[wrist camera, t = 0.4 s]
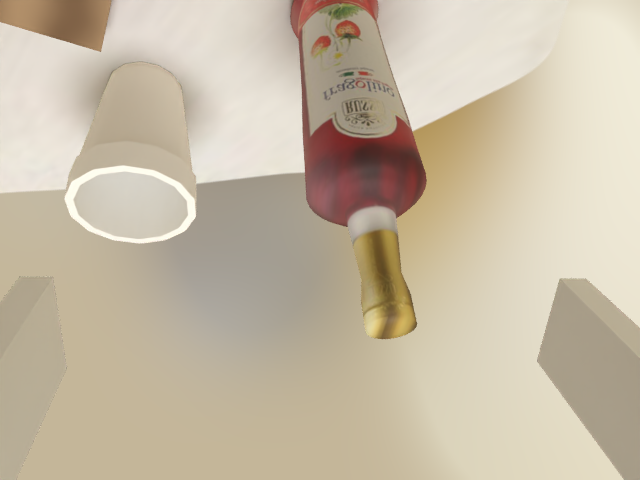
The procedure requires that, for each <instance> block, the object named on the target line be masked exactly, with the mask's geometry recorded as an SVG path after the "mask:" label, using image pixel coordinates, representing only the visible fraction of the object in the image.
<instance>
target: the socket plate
mask: <svg viewBox="0 0 640 480" xmlns="http://www.w3.org/2000/svg"><path fill="white" fill-rule="evenodd" d="M110 5H111V0H0V22H2V23H6V24H9V25H12V26H16V27H19V28H23V29H26V30H29V31H33V32H36V33H39V34H43V35H46V36H49V37H53V38H56V39H60V40H63V41H66V42H70V43H73V44H76V45H80V46H83V47H86V48H90V49H93V50H97V51H100V52H101V49H102V44H103V39H104V34H105V29H106V25H107V20H108V15H109V10H110Z"/></svg>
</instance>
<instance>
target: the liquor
mask: <svg viewBox="0 0 640 480" xmlns="http://www.w3.org/2000/svg"><path fill="white" fill-rule="evenodd" d="M290 18H291V25H292V28H293V31H294V33H295V35H296V36H297V38H298V39H299V51H300V67H301V84H302V121H303V145H304V161H305V181H306V198H307V202H308V204H309V207H310V208H311V209H312V210H313V212H314V213H316V214H317V215H318V216H320V217H321V218H323V219H325V220H327V221H329V222H332V223H335V224H339V225H342V226H346V227H348V229H349V233H350V237H351V241H352V244H353V248H354V252H355V256H356V260H357V264H358V268H359V271H360V276H361V280H362V282H361V291H362V292H361V304H362V311H363V317H364V324H365V330H366V333H367V335H368V336H371V337H373V338H378V339H391V338H397V337H400V336H403V335H406V334H408V333H410V332H411V331H413V330H414V329H415V328H416V326H417V322H416V317H415V313H414V308H413V303H412V298H411V294H410V291H409V289H408V287H407V285H406V282H405V280H404V278H403V275H402V273H401V263H400V253H399V242H398V231H397V220H396V218H397V217H399V216H400V215H402V214H403V213H404V212H406V211H407V210H408V209H410V208H411V207H412V206H413V205H414V204H415V203H416V202H417V201H418V200H419V198H420V197H421V196H422V194H423V192H424V190H425V187H426V173H425V170H424V167H423V164H422V161H421V158H420V155H419V152H418V149H417V146H416V142H415V139H414V136H413V133H412V129H411V126H410V123H409V120H408V116H407V113H406V111H405V108H404V105H403V102H402V100H401V97H400V94H399V91H398V88H397V86H396V83H395V80H394V77H393V74H392V71H391V68H390V65H389V62H388V58H387V55H386V52H385V49H384V46H383V42H382V39H381V36H380V32H379V29H378V25H377V18H378V2H377V0H294V2H293V5H292V8H291V15H290Z"/></svg>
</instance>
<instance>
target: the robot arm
mask: <svg viewBox="0 0 640 480" xmlns="http://www.w3.org/2000/svg"><path fill="white" fill-rule="evenodd" d="M537 362H538V363H539V364H540V366H541V367H542V369H543V370H544V371H545V373H546V374H547V375H548V377H549V378H550V380H551V381H552V382H553V384H554V385H555V386H556V388H557V389H558V390H559V392H560V393H561V394H562V396H563V397H564V398H565V400H566V401H567V403H568V404H569V405H570V407H571V408H572V409H573V411H574V412H575V413H576V415H577V416H578V418H579V419H580V420H581V422H582V423H583V424H584V426H585V427H586V428H587V430H588V431H589V433H590V434H591V435H592V437H593V438H594V439H595V440H596V442H597V443H598V445H599V446H600V447H601V449H602V450H603V452H604V453H605V454H606V456H607V457H608V458H609V459H610V461H611V462H612V464H613V465H614V466H615V468H616V469H617V471H618V472H619V473H620V475H621V476H622V477H623V479H624V480H640V328H639V327H638V326H637V325H636V324H635V323H634V322H633V321H632V320H631V319H629V318H628V317H627V316H626V315H625V314H624V313H623V312H622V311H621V310H620V309H619V308H617V307H616V306H615V305H614V304H613V303H612V302H611V301H610V300H609V299H608V298H606V297H605V296H604V295H603V294H602V293H601V292H600V291H599V290H598V289H597V288H596V287H594V286H593V285H592V284H591V283H590V282H589V281H588V280H587V279H560V280H559V283H558V287H557V291H556V294H555V298H554V301H553V305H552V309H551V312H550V316H549V319H548V323H547V326H546V330H545V334H544V337H543V341H542V344H541V348H540V352H539V355H538V359H537ZM66 369H67V367H66V360H65V353H64V347H63V340H62V333H61V327H60V320H59V314H58V308H57V300H56V293H55V286H54V280H53V277H19V278H18V280H17V281H16V282H15V284H14V285H13V286H12V287H11V289H10V290H9V291H8V293H7V294H6V296H5V297H4V298H3V300H2V301H1V302H0V480H16V479H17V477H18V474H19V472H20V470H21V468H22V466H23V463H24V461H25V459H26V457H27V455H28V453H29V450H30V448H31V446H32V444H33V442H34V439H35V437H36V435H37V433H38V431H39V429H40V426H41V424H42V422H43V420H44V417H45V415H46V413H47V411H48V409H49V407H50V404H51V402H52V400H53V398H54V396H55V393H56V391H57V389H58V387H59V384H60V382H61V380H62V378H63V376H64V374H65V371H66Z"/></svg>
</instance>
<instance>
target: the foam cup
mask: <svg viewBox="0 0 640 480" xmlns="http://www.w3.org/2000/svg"><path fill="white" fill-rule="evenodd" d="M196 198H197V191H196V176H195V175H194V173H193V172H192V165H191V157H190V149H189V142H188V134H187V126H186V118H185V111H184V103H183V95H182V91H181V85H180V84H179V83H178V81H177V80H176V78H175V77H174V75H173V74H171V73H170V72H168V71H167V70H165V69H163V68H162V67H160V66H159V65H154V64H150V63H145V62H135V63H128V64H124V65H122V66H121V67H119V68H118V69H116V70H115V71H113V72H112V74H111V77H110V79H109V81H108V84H107V86H106V88H105V91H104V93H103V96H102V98H101V101H100V104H99V106H98V109H97V111H96V114H95V116H94V119H93V122H92V124H91V127H90V129H89V132H88V134H87V137H86V140H85V142H84V145H83V147H82V150H81V152H80V155H79V156H77V157H76V159H75V162H74V164H73V166H72V169H71V171H70V173H69V177H68V182H67V187H66V192H65V197H64V199H65V202H66V205H67V207H68V210H69V213H70V216H71V217H72V218H74V219H75V220H76V221H77V222H78V223H80V224H81V225H82V226H83V227H85V228H86V229H87V230H88V231H90V232H93V233H96V234H98V235H101V236H104V237H106V238H109V239H111V240H116V241H125V242H133V243H147V242H154V241H162V240H166V239H169V238H171V237H173V236H175V235H177V234H179V233H181V232H184V231H185V230H186V229H187V228H188V226H189V225H190V224H191V222H192V221H193V220H194V218H195V217H196Z"/></svg>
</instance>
